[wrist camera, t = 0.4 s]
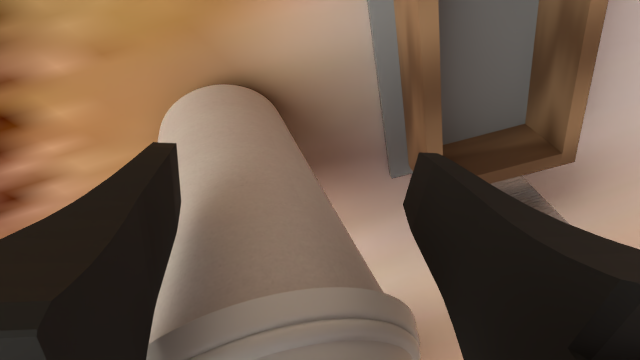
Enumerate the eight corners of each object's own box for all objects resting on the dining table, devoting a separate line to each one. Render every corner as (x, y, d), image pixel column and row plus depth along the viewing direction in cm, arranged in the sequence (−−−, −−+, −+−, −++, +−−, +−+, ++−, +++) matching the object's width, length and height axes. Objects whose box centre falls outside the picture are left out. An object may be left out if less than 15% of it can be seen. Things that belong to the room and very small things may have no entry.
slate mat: (549, 133, 25) (553, 136, 25) (389, 175, 25) (391, 178, 25) (592, -147, 17) (599, -148, 17) (356, -85, 17) (358, -85, 17)
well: (536, 131, 24) (574, 161, 22) (408, 165, 24) (429, 199, 22) (570, -121, 17) (634, -125, 14) (386, -73, 17) (414, -67, 14)
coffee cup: (88, 77, 17) (-23, 495, 7) (300, 34, 19) (482, 321, 8) (164, 220, 24) (169, 542, 13) (316, 180, 25) (429, 441, 15)
